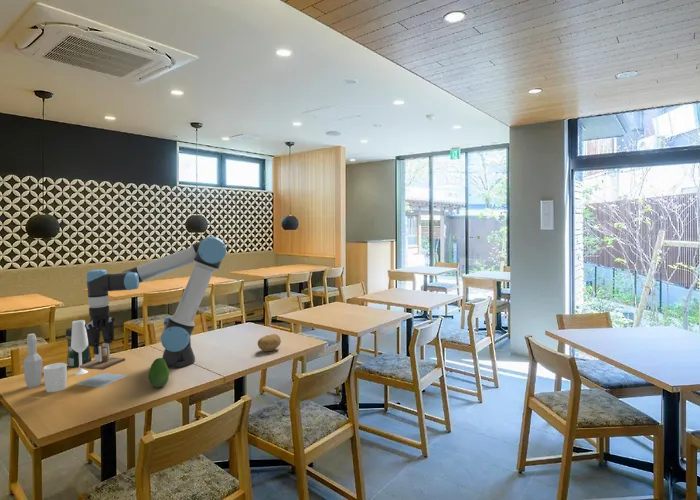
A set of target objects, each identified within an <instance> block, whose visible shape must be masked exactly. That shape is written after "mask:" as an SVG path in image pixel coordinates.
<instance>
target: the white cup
mask: <svg viewBox="0 0 700 500" xmlns="http://www.w3.org/2000/svg"><path fill="white" fill-rule="evenodd" d="M67 366H68V365H67V362H55V363H51V364H48V365H45V366H42V371H43V372H42V373H43V381H44V387H45V392H46V393H55V392H57V393H58V392H60V391H62V390H65V389H67V378H68V377H67V375H68V374H67V373H68V370H67V369H68V368H67Z"/></svg>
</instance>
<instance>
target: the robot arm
mask: <svg viewBox="0 0 700 500" xmlns="http://www.w3.org/2000/svg"><path fill="white" fill-rule="evenodd" d="M226 253H227V246H226V244H225V242H224V241H223V240H222V239H221V238H220V237H217V236H211V235H210V236H208V237H205V238H203V239H201V240H200V241H197V242H195V243H193V244H191V246H190V247H188V248H185V249H182V250H179V251H176V252H174V253H172V254H168V255H166V256H162V257H159V258H156V259H154V260H152V261H149V262H146V263H143V264H141V265H138V266H135V267H132V268H129V269H125V270H123V271H122V272H119V273H118V272H117V273H108V272H107V270H106V269H93V270H92V269H91V270H89V271H87V273H86V287H87V298H88V299H87V300H88V301H87V302H88V306H89V308H88V315H89V317H90V320H89V321H90V322H88V323H85V328H86V330H87V337H88V345H89V347H90V348H91V347H92V348H93V349H92V351H93V355H94V360H95V361H97V362H101V361H102V354H101V347H107V357H108V359H109V358H110V357H111V351H110V350H111V344H112V343H113V341H114V339H115V327H114V325H115V324H114V323H115V320H116V319H115V317H110V315H109V314H110V305H109V304H110V299H109V298H110V297H109V292H117V291H119V292H120V291H132V290H133V291H134V290H138V289H139V286H140V283H142V282H145V281H148V280H151V279H153V278H157V277H158V276H159V277H160V276H162V275H164V274H167V273H170V272H172V271H176V270H178V269H181V268H184V267H187V266H190V265H192V264H194V267H193V269H192V272H191V274H190V277H189V278H188V280H187V281H188V282H187V283H186V286H185V289H184V291H183V294H182V295H181V297H180V300H179V302H178V305H177V307H176V310H175V312H174V313H173V314H172V315H169V316H166V317H164V318H163V331H162V333H161V335H160V342H161V345H162V346H163V349H164V351H163V354H162V357H161V358H163V359H164V360H165V362H166V364H167V367H168V368H170V369H171V368H172V369H173V368H183V367H187V366H190V365H193V364H194V363H195V362H196V357H195V354H194V351H193V348H192V343H191V335H192V333H193V331H194V329H195V326H196V324H195V322H194V319H195V317H196V314H197V312H198V310H199V308H200V304H201V302H202V300H203V298H204V296H205V294H206V291H207V288H208V286H209V284H210V281H211V279H212V276H213V273H214V272H216V271H218V270H219V268H220V266H221V263H222V261H223V259H224V258H225V256H226ZM101 335H102V338H103V343H102V346H101V345H100V341H101Z"/></svg>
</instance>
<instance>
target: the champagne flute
mask: <svg viewBox="0 0 700 500" xmlns="http://www.w3.org/2000/svg"><path fill="white" fill-rule="evenodd" d="M85 324H86V320H85V319H79V320H73V321H72V322H71V328H72V336H71V348H72V349H73V350H74V351H76V352H78V353H79V366H78V368H79V369H78V370H77V371H75V372H74V373H73V375H76V376H79V375H85V374H87V373H89V371H88V369H85V368H80V365H82V352H83V351H84V350H85V349H86V348H87V346H88V338H87V332H86V328H85Z"/></svg>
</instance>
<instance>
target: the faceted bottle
mask: <svg viewBox="0 0 700 500" xmlns="http://www.w3.org/2000/svg"><path fill="white" fill-rule="evenodd" d="M26 344H27V345H26V346H27V355H26V357H25V358H24V360H23V361H22V362H23V373H24V379H25V384H26V388H28V389H33V388H36V387H39V386H41V384H42V377H43V376H42V375H43V374H42V373H43V372H42V371H43V357H42V356H41V355H39V353H37V336H36V334H35V333H29V334H27V336H26Z"/></svg>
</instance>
